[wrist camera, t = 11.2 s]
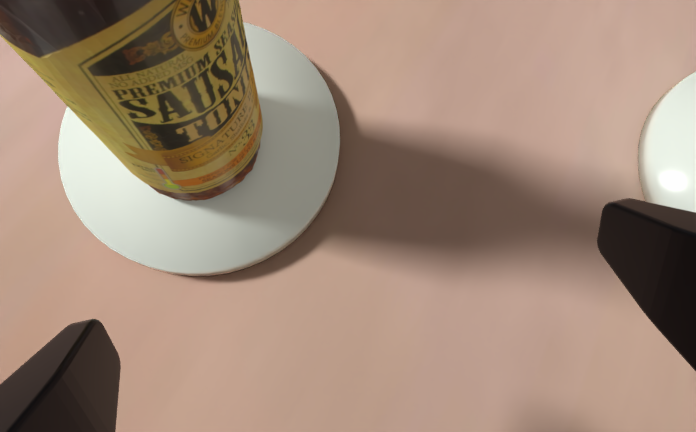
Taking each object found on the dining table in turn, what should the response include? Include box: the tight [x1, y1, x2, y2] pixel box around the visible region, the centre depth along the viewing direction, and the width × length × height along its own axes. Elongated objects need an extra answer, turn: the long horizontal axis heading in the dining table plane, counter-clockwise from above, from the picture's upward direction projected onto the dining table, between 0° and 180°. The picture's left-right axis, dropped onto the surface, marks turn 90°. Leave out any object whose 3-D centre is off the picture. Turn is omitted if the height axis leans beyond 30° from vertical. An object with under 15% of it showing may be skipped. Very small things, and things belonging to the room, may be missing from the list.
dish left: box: [58, 22, 340, 276], centre depth 22 cm, size 13×13×1 cm
